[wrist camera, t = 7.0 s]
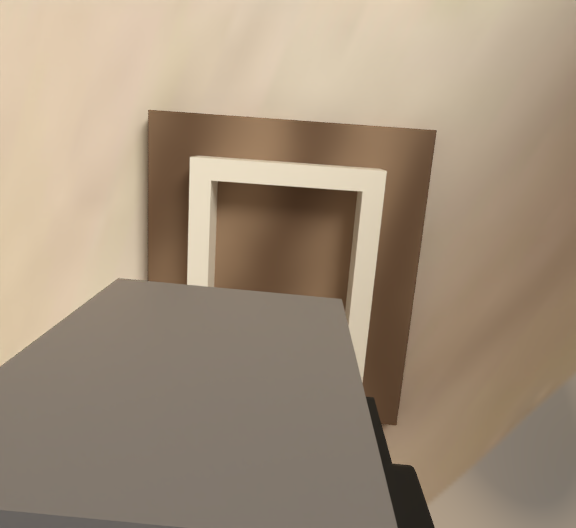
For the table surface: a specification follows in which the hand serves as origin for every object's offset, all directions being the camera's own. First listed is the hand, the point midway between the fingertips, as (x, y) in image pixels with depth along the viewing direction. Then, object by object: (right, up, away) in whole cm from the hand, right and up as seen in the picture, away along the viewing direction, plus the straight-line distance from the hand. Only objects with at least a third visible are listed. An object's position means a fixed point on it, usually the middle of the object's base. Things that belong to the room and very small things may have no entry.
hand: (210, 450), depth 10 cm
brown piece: (+1, +3, +17) cm, 17 cm away
